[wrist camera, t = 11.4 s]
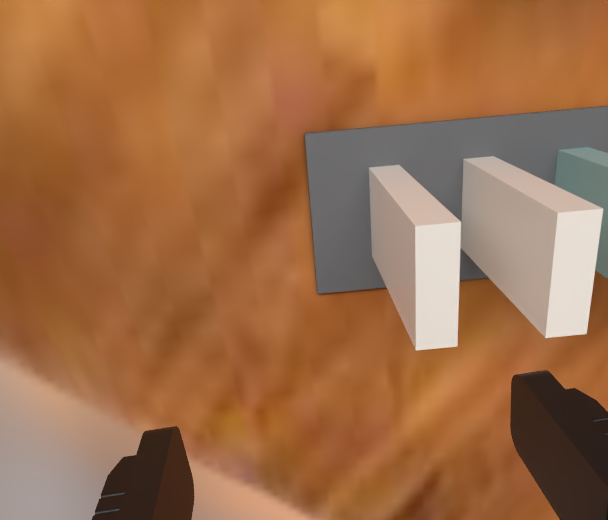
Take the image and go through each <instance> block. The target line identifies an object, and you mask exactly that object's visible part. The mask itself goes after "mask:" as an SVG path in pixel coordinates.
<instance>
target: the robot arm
mask: <svg viewBox="0 0 608 520" xmlns="http://www.w3.org/2000/svg"><path fill="white" fill-rule="evenodd" d="M510 426H511V435H512V439H513V443H514V445H515V448H516V450H517V452H518V454H519V456H520V457H521V459H522V460H523V462H524V464H525V465H526V467H527V468H528V470H529V472H530V473H531V475H532V476H533V478H534V479H535V481H536V483H537V484H538V486H539V487H540V489H541V490H542V492H543V494H544V495H545V497H546V498H547V500H548V501H549V503H550V505H551V506H552V508H553V509H554V511H555V512H556V514H557V516H558V517H559V519H560V520H608V412H607V411H606V410H605V409H604V408H603V407H602V406H601V405H600V404H599V403H598V402H597V401H596V400H595V399H593V398H591V397H589V396H588V395H586V394H584V393H582V392H581V391H579V390H577V389H575V388H572V389H566V390H565V389H564V388H563V386H562V385H561V384H560V383H559V382H558V381H557V380H556V379H555V377H554V376H553V375H552V374H551V373H550V372H548V371H546V370H543V371H537V372H530V373H524V374H517V375H514V376H513V378H512V383H511V423H510ZM193 505H194V484H193V478H192V473H191V470H190V466H189V462H188V459H187V455H186V451H185V448H184V444H183V440H182V437H181V433H180V430H179V428H178V427H177V426H175V427H168V428H162V429H155V430H149V431H145V432H144V433H143V435H142V438H141V442H140V445H139V448H138V451H137V455H134V456H128V457H123V458H122V459H121V461H120V462H119V463H118V464H117V465H116V466H115V468H114V469H113V470H112V471H111V473H110V474H109V475H108V477H107V480H106V482H105V485H104V488H103V491H102V493H101V499H99V502H98V505H97V507H96V510H95V515H94V516H93V518H92V520H191V518H192V512H193Z"/></svg>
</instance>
